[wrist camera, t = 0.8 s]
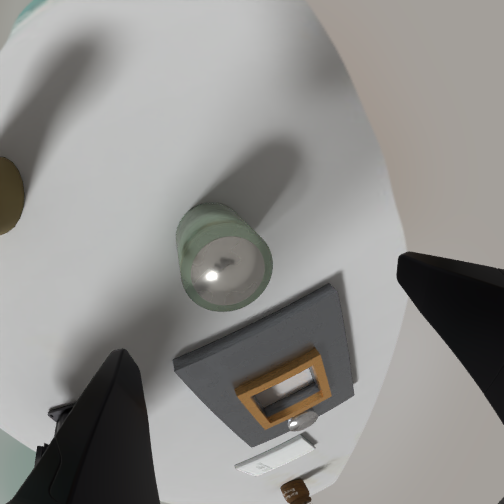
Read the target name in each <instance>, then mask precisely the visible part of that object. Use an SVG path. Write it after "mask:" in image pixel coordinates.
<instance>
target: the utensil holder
mask: <svg viewBox="0 0 504 504" xmlns="http://www.w3.org/2000/svg"><path fill="white" fill-rule="evenodd" d="M281 491H282V493H283V496H284V498H285V500H286V501H287V502H288V503H290V504H307V503H309V502H311V497H309V491H308V489H307V487H306V485H305V483H304V481H303V480H302V479H297V480H293V481H290V482H288V483H286V484H284V485H282V486H281Z"/></svg>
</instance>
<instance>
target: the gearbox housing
mask: <svg viewBox="0 0 504 504" xmlns="http://www.w3.org/2000/svg"><path fill="white" fill-rule="evenodd" d="M173 364H174V372H175V373H176V374H177V375H178V376H179V377H180V378H181V379H182V380H183V382H184V383H185V384H186V385H187V386H188V387H189V388H190V389H191V390H192V391H193V392H194V393H195V394H196V396H197V397H198V398H199V399H200V400H201V401H202V402H203V403H204V404H205V405H206V406H207V407H208V408H209V409H210V410H211V411H212V412H213V413H214V414H215V415H216V416H217V417H218V418H219V419H221V420H222V421H223V422H224V423H225V424H226V425H227V426H228V427H229V428H230V429H231V430H232V431H233V432H234V433H236V434H237V435H238V436H239V437H240V438H241V439H242V440H243V441H245V442H246V443H247V444H248V445H249V446H250V447H255V446H257V445H259V444H262V443H264V442H267V441H269V440H271V439H273V438H276V437H278V436H280V435H282V434H285V433H287V432H289V431H300V430H303V429H305V428H307V427H309V426H311V425H312V424H313V423H314V422H315V421H316V420H317V418H318V416H320V415H322V414H324V413H326V412H327V411H329V410H331V409H333V408H334V407H336V406H338V405H339V404H341V403H343V402H344V401H346V400H348V399H349V398H351V397H352V396H354V389H353V381H352V373H351V366H350V359H349V353H348V346H347V340H346V334H345V328H344V322H343V317H342V311H341V306H340V301H339V296H338V291H337V290H336V289H335V288H334V287H332V286H331V285H330V284H327V285H325V286H324V287H322V288H320V289H318V290H316V291H315V292H313V293H311V294H309V295H307V296H305V297H303V298H302V299H300V300H298V301H296V302H294V303H292V304H290V305H288V306H286V307H285V308H283V309H281V310H279V311H277V312H275V313H273V314H271V315H269V316H267V317H265V318H263V319H261V320H259V321H257V322H255V323H253V324H251V325H249V326H247V327H245V328H243V329H241V330H238V331H236V332H234V333H232V334H230V335H228V336H226V337H224V338H221V339H219V340H217V341H215V342H213V343H211V344H208V345H206V346H204V347H202V348H200V349H197V350H195V351H193V352H190V353H188V354H186V355H184V356H181V357H179V358H177V359H174V360H173ZM307 368H309V369H310V372H311V375H312V378H313V380H314V383H313V384H311V385H309V386H307V387H306V388H304V389H302V390H300V391H298V392H296V393H294V394H292V395H290V396H288V397H286V398H284V399H282V400H280V401H278V402H276V403H274V404H272V405H270V406H268V407H265V408H263V407H262V406H261V405H260V403H259V402H258V401H257V399H256V398H255V396H254V395H255V394H258V393H260V392H262V391H264V390H266V389H268V388H270V387H272V386H274V385H276V384H279V383H281V382H283V381H284V380H286V379H288V378H290V377H292V376H294V375H296V374H298V373H300V372H302V371H304V370H305V369H307Z"/></svg>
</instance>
